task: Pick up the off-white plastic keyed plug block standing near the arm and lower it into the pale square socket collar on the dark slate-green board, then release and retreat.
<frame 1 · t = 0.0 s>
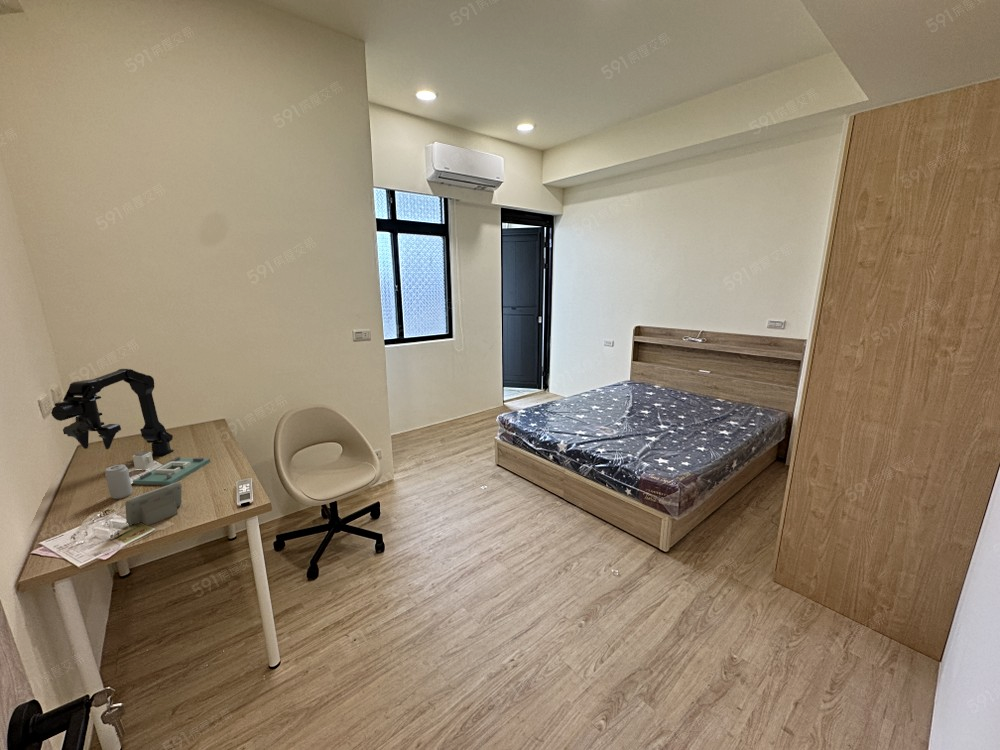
hand: (97, 448, 165), 15 cm above the table, fingers open, 9 cm apart
plug: (145, 468, 180), on the table
beverage can: (122, 496, 157), on the table
board: (174, 472, 177), on the table
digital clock: (158, 517, 144), on the table
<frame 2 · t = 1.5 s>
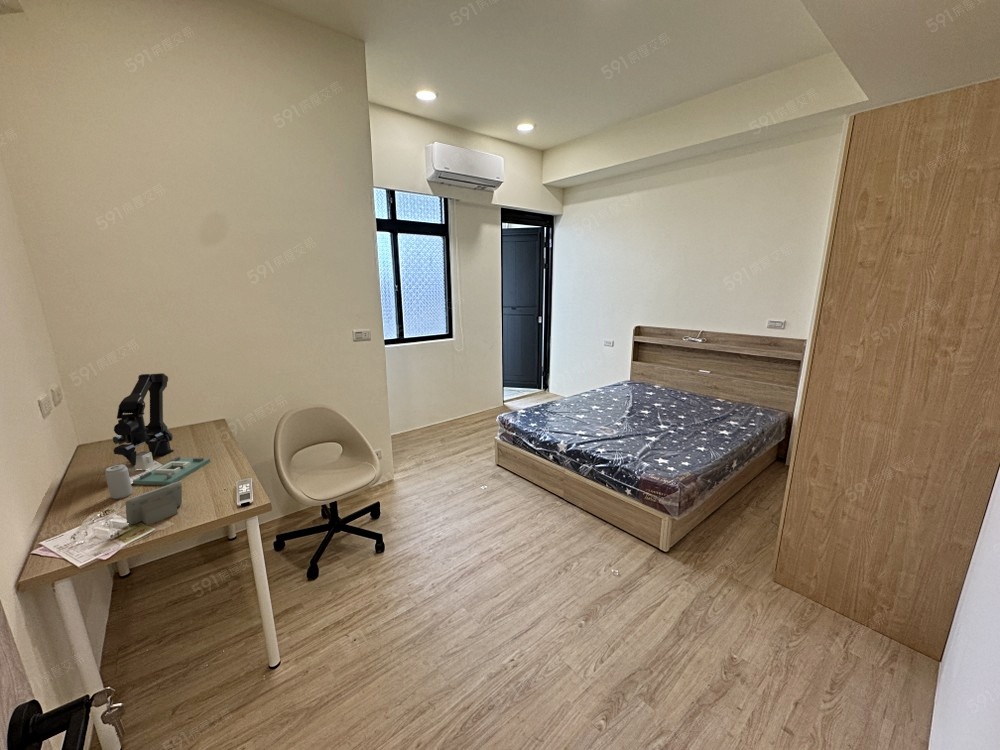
hand: (143, 460, 179), 4 cm above the table, fingers open, 9 cm apart
nothing on the table moved.
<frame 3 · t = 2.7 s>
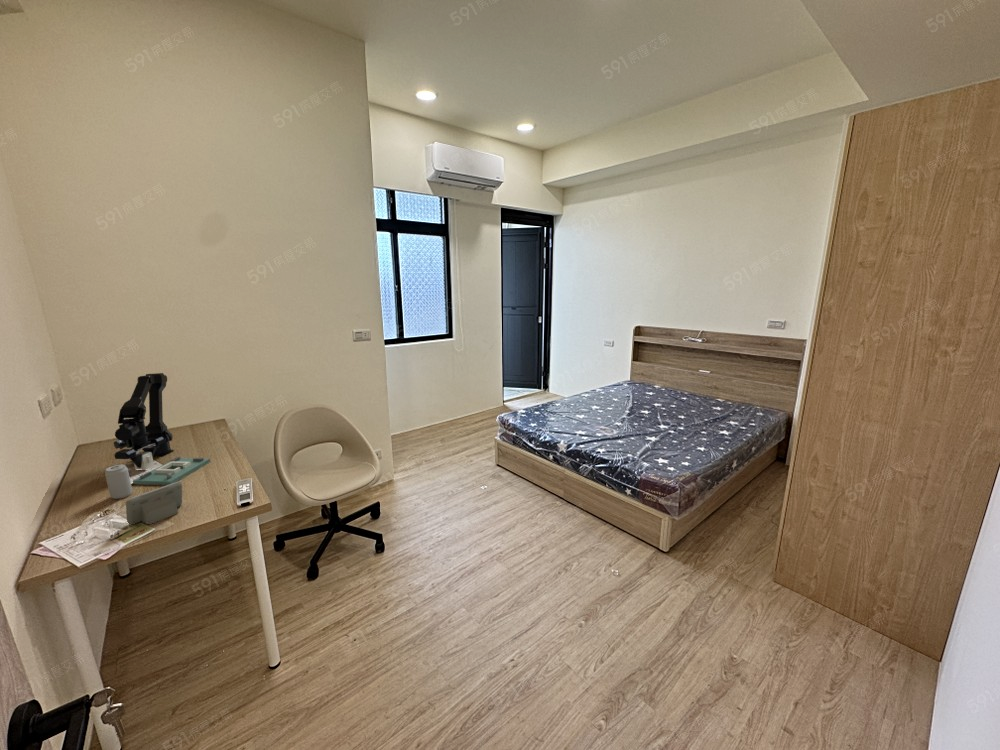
hand: (144, 465, 180), 2 cm above the table, fingers closed on plug, 4 cm apart
plug: (145, 468, 180), on the table, touching gripper
everything else where it was.
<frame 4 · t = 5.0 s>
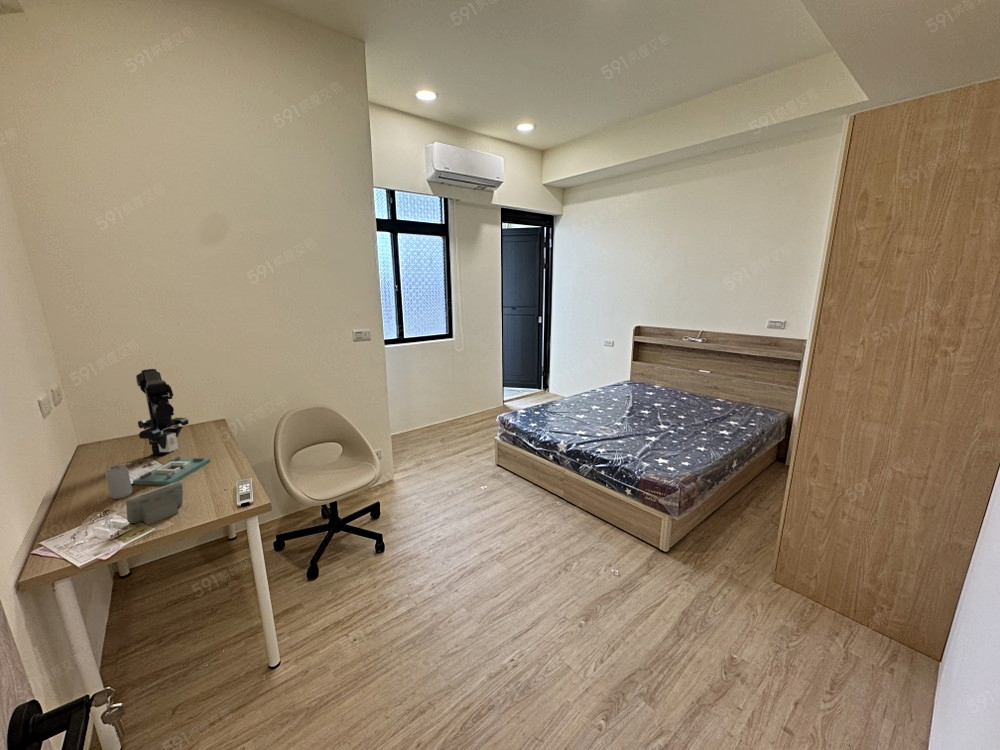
hand: (168, 446, 174), 12 cm above the table, fingers closed on plug, 4 cm apart
plug: (169, 449, 174), point 11 cm above the table, touching gripper
everything else where it was.
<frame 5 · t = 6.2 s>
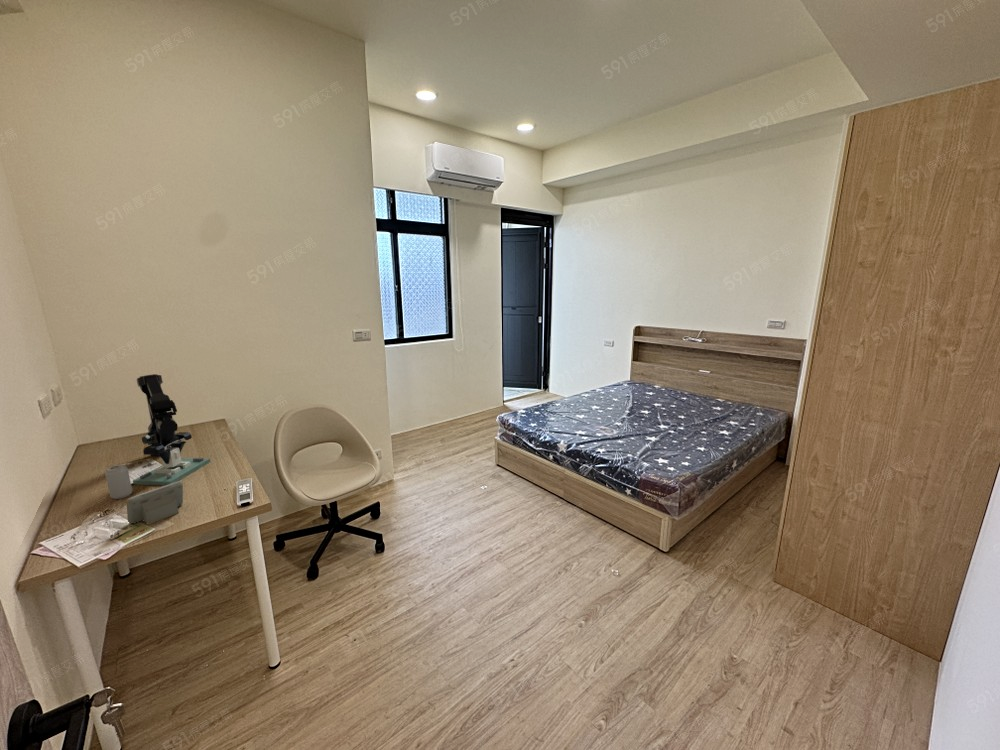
hand: (172, 461, 176), 5 cm above the table, fingers closed on plug, 4 cm apart
plug: (172, 464, 176), point 4 cm above the table, touching gripper
everything else where it was.
when the fingers open (3 cm above the table, at t = 7.4 s): plug drops 2 cm, resting in board.
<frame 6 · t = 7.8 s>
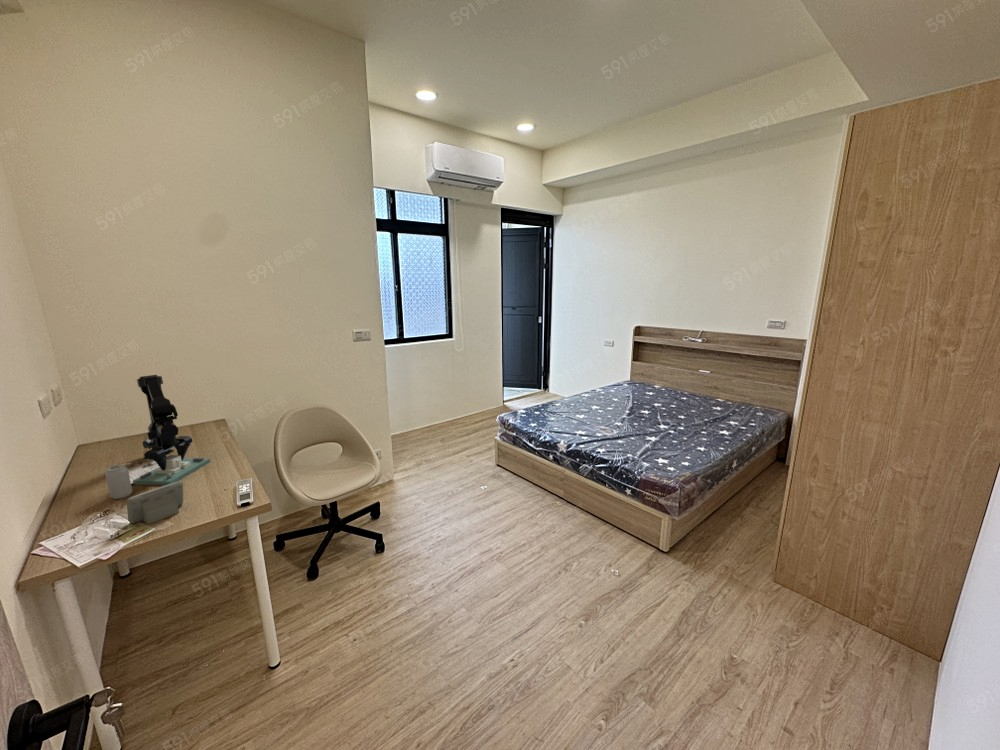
hand: (172, 465, 176), 3 cm above the table, fingers open, 9 cm apart
plug: (174, 472, 177), resting in board
everything else where it was.
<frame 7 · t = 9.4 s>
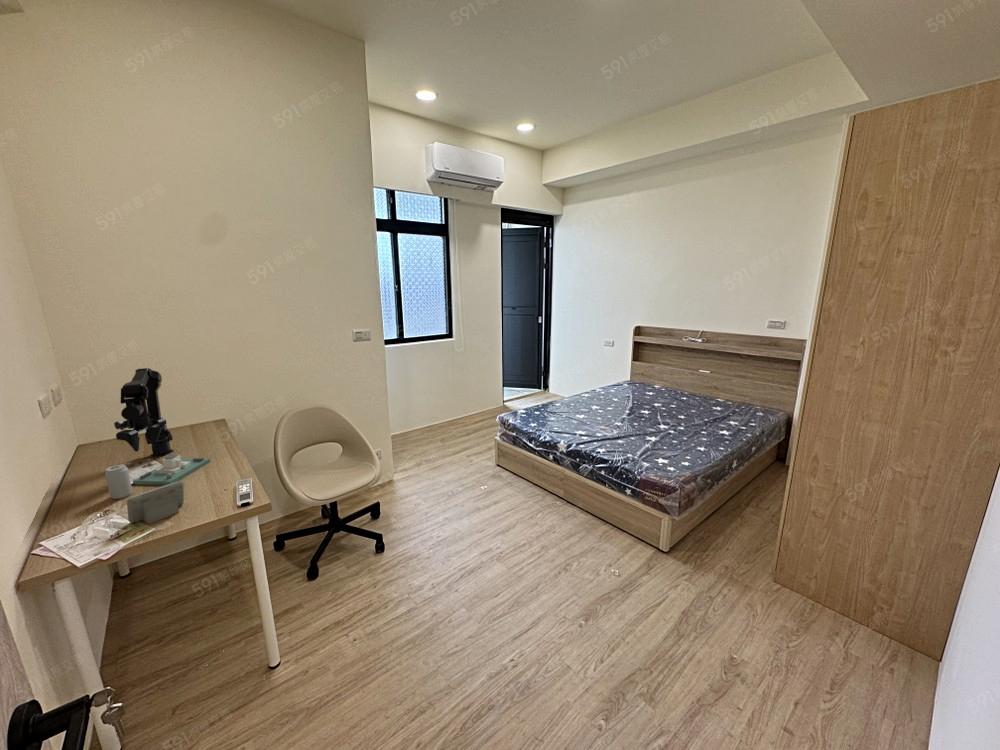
hand: (146, 446, 175), 12 cm above the table, fingers open, 9 cm apart
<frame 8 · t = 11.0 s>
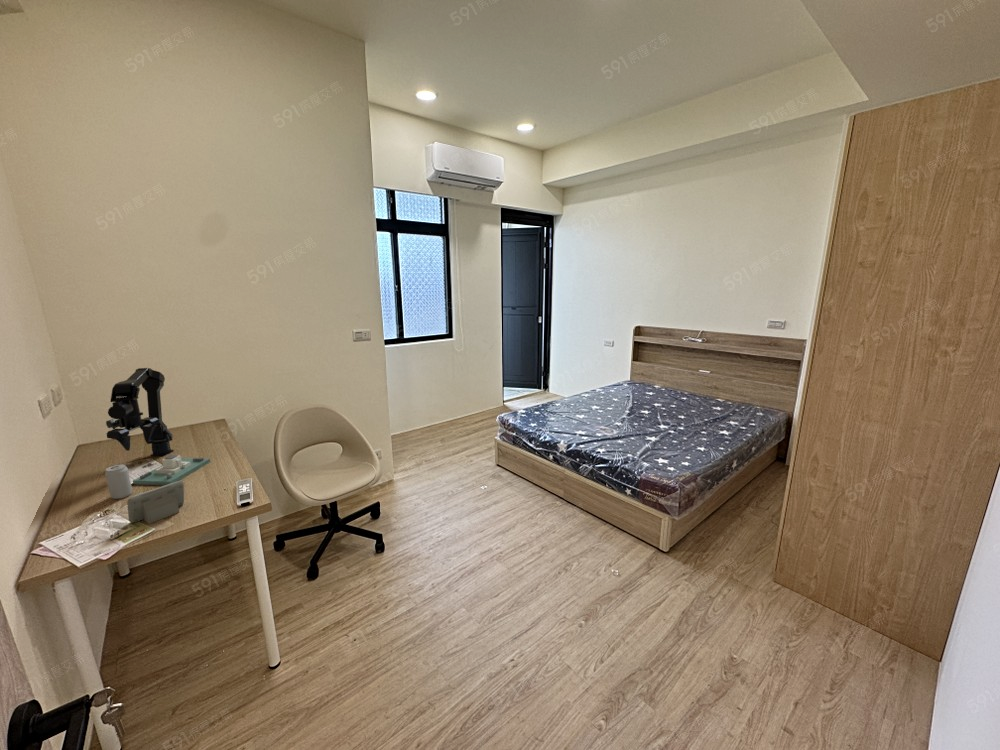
hand: (137, 446, 174), 12 cm above the table, fingers open, 9 cm apart
at the end: plug 0.1 cm off-centre on the board, point 0.0 cm above the board's base; plug tilted 0°; the gripper is holding nothing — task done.
